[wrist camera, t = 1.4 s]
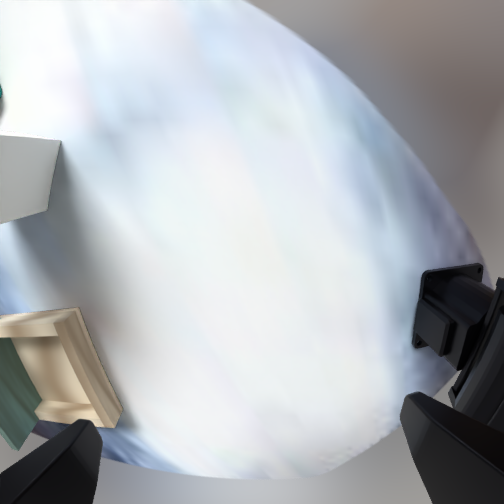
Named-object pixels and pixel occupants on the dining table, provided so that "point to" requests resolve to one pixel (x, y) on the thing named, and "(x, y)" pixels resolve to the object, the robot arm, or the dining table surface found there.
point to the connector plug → (25, 174)
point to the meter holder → (50, 374)
